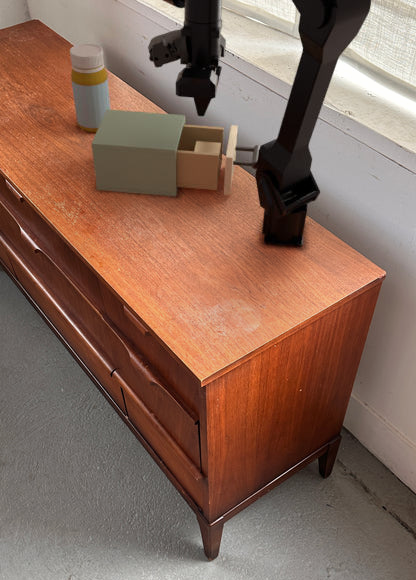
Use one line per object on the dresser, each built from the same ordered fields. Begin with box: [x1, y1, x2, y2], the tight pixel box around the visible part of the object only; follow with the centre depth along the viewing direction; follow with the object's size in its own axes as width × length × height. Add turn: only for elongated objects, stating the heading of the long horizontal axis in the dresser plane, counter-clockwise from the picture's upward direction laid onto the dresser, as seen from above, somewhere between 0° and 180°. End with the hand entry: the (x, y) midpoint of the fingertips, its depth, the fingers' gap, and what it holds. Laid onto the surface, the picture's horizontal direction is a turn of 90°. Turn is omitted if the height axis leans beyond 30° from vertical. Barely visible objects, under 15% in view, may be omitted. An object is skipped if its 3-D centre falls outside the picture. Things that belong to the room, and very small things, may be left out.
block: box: [194, 141, 221, 175], centre depth 114 cm, size 4×4×4 cm
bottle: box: [69, 43, 112, 134], centre depth 124 cm, size 7×7×15 cm
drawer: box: [176, 124, 261, 196], centre depth 114 cm, size 18×11×7 cm, turn 84°
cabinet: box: [91, 109, 186, 197], centre depth 115 cm, size 15×13×9 cm
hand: (201, 115), depth 108 cm, fingers closed
